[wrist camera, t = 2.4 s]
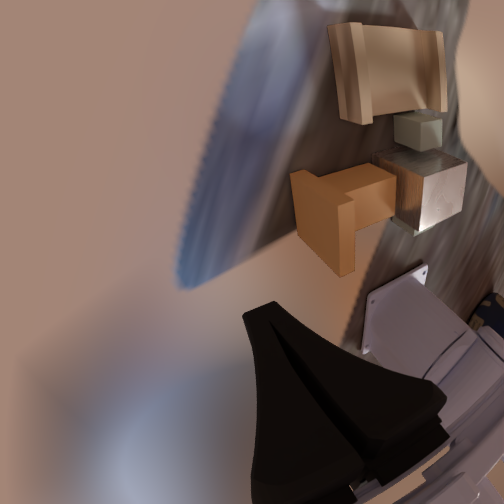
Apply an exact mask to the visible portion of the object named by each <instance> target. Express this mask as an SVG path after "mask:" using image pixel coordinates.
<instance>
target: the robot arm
mask: <svg viewBox="0 0 504 504" xmlns="http://www.w3.org/2000/svg"><path fill="white" fill-rule="evenodd" d="M427 270H428V265H427V264H426V263H424V264H422V265H420V266H418V267H417V268H415V269H413V270H411V271H409V272H408V273H406V274H404V275H402V276H400V277H399V278H397V279H395V280H393V281H391V282H389V283H387V284H385V285H384V286H382V287H380V288H378V289H376V290H374V291H372V292H370V293H369V295H368V297H367V305H366V315H365V324H364V332H363V340H362V347H361V352H362V354H366V353H367V352H369V351H371V353H372V354H373V355H374V356H375V358H376V359H377V360H378V361H379V362H380V364H381V365H382V366H383V367H384V368H383V367H381V366H378V365H375V364H373V363H370V362H368V361H365V360H363V359H361V358H359V357H357V356H355V355H353V354H351V353H349V352H347V351H345V350H343V349H341V348H339V347H337V346H336V345H334V344H332V343H331V342H329V341H327V340H326V339H324V338H322V337H321V336H319V335H318V334H316V333H315V332H313V331H312V330H311V329H309V328H307V327H306V326H305V325H304V324H302V323H301V322H299V321H298V320H297V319H296V318H294V317H293V316H292V315H291V314H289V313H288V312H287V311H286V310H285V309H284V308H282V307H281V306H280V305H279V304H278V303H277V302H275V301H272V302H270V303H268V304H265V305H263V306H260V307H258V308H255V309H253V310H250V311H248V312H245V313H244V314H243V315H242V318H243V320H244V324H245V327H246V330H247V334H248V337H249V340H250V343H251V346H252V351H253V355H254V364H255V374H256V387H257V423H256V437H255V449H254V457H253V463H252V470H251V498H252V503H253V504H363V503H365V502H367V501H369V500H370V499H372V498H374V497H375V496H377V495H378V494H380V493H382V492H383V491H385V490H387V489H388V488H390V487H392V486H393V485H395V484H396V483H398V482H399V481H401V480H402V479H404V478H405V477H407V476H408V475H410V474H411V473H412V472H414V471H415V470H416V469H418V468H419V467H421V466H422V465H423V464H425V463H426V462H427V461H429V460H430V459H431V458H433V457H434V456H435V455H436V454H438V453H439V452H440V451H441V450H442V449H443V448H445V447H446V446H447V445H448V446H449V447H450V450H449V451H448V452H447V453H446V454H445V455H444V456H443V457H441V458H440V459H439V460H437V461H436V462H435V463H434V464H432V465H431V466H430V467H429V468H427V469H426V470H425V471H423V472H422V475H423V477H424V478H425V479H426V481H425V482H424V483H423V484H421V485H420V486H418V487H417V488H416V489H414V490H413V491H411V492H410V493H408V494H407V495H405V496H404V497H402V498H401V499H399V500H398V501H396V502H394V503H393V504H504V500H503V498H502V497H501V496H500V494H499V493H498V491H497V490H496V489H495V487H494V486H493V485H492V483H491V482H490V481H489V479H488V478H487V477H486V475H487V474H488V473H489V472H490V470H491V469H492V468H493V467H494V466H495V465H496V463H497V462H498V461H499V460H500V459H501V460H502V461H503V462H504V339H503V338H502V337H501V336H499V335H498V334H497V333H496V332H495V331H494V330H493V329H492V328H491V327H489V326H484V327H482V326H480V327H479V329H478V330H477V331H475V330H473V329H471V328H470V327H469V326H468V325H467V324H466V323H465V322H464V321H463V320H462V319H461V318H460V317H459V316H457V315H456V314H455V313H454V312H453V311H452V310H451V309H450V308H449V307H448V306H447V305H445V304H444V303H443V302H442V301H441V300H440V299H439V298H438V297H436V296H435V295H434V294H433V293H432V292H431V291H430V290H429V289H427V288H426V287H425V286H424V283H425V279H426V274H427ZM349 485H350V486H351V487H352V489H353V491H352V490H351V488H350V487H349Z"/></svg>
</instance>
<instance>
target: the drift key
mask: <svg viewBox="0 0 504 504" xmlns="http://www.w3.org/2000/svg"><path fill="white" fill-rule="evenodd" d="M290 180H291V187H292V194H293V201H294V209H295V217H296V224H297V232H298V236H299V237H300V238H301V239H302V240H303V241H304V242H305V243H306V244H307V245H308V246H309V247H310V248H311V249H312V250H313V251H314V252H315V253H316V254H317V255H318V256H319V257H320V258H321V259H322V260H323V261H324V262H325V263H326V264H327V265H328V266H329V267H330V268H331V269H332V270H333V271H334V272H335V273H336V274H337V275H338V276H339V277H343V276H345V275H347V274H349V273H351V272H353V271H355V231H358V230H360V229H362V228H365V227H367V226H370V225H372V224H374V223H377V222H379V221H382V220H384V219H387V218H389V217H392V216H394V215H395V202H396V176H395V175H393V174H391V173H389V172H387V171H385V170H383V169H381V168H379V167H377V166H374V165H372V164H370V163H366V164H362V165H359V166H355V167H352V168H348V169H345V170H341V171H338V172H335V173H331V174H328V175H325V176H321V177H316V176H315V175H313V174H311V173H310V172H308V171H306V170H305V169H304V170H300V171H297V172H294V173H290Z"/></svg>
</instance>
